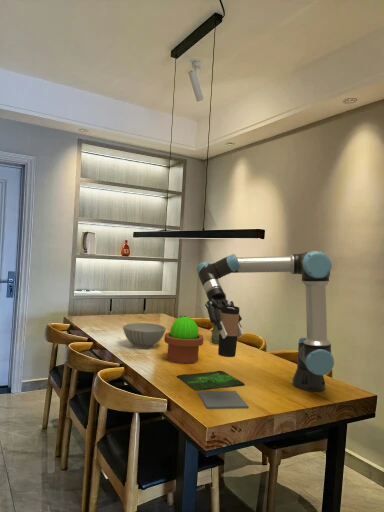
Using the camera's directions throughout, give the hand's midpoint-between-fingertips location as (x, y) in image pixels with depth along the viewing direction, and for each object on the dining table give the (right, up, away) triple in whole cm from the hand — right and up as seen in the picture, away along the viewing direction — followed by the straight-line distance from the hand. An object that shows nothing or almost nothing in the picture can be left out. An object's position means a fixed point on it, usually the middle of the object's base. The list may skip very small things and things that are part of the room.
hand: (233, 336), depth 157 cm
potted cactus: (-22, -26, +61) cm, 70 cm away
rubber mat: (-4, -27, +2) cm, 28 cm away
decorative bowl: (-48, -24, +87) cm, 102 cm away
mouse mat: (-8, -27, +27) cm, 39 cm away
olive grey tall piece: (+1, -28, +109) cm, 112 cm away
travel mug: (-2, -9, +3) cm, 9 cm away
